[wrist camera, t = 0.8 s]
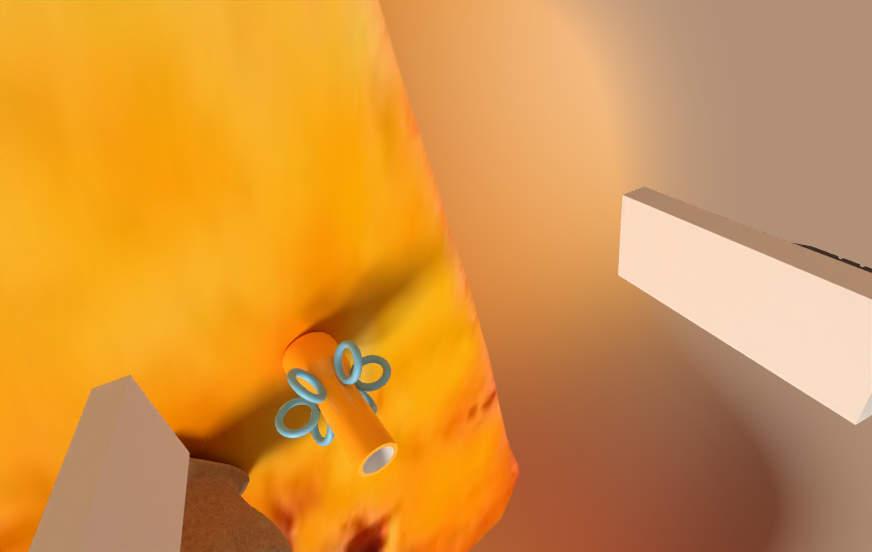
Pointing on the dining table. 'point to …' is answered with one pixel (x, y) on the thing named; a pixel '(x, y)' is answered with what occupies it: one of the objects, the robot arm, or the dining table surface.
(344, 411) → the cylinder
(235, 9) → the dining table surface
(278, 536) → the brown boot
